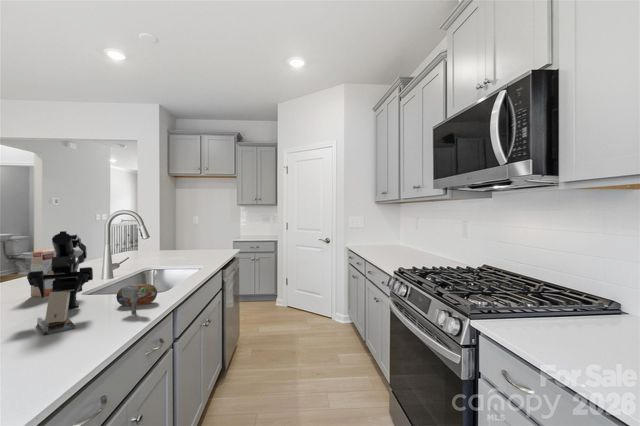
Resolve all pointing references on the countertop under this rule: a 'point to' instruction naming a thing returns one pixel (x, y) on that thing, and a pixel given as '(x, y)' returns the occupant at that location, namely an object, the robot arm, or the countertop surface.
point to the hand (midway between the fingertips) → (59, 295)
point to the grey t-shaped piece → (133, 294)
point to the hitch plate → (54, 326)
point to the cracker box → (42, 269)
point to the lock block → (57, 306)
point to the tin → (147, 299)
